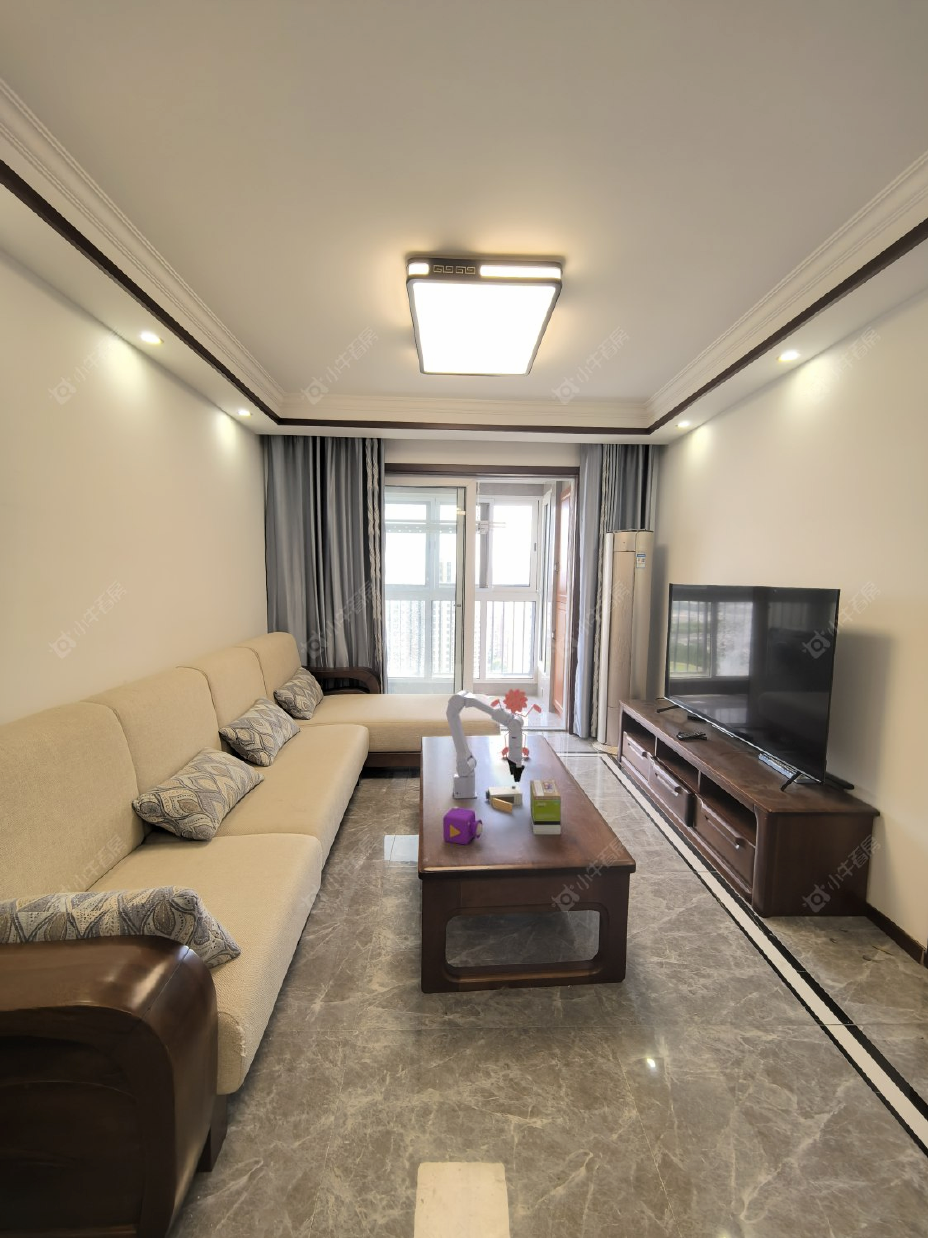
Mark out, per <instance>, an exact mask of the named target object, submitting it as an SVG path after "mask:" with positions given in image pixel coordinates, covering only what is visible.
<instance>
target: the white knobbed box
mask: <svg viewBox="0 0 928 1238" xmlns="http://www.w3.org/2000/svg"><path fill="white" fill-rule="evenodd" d="M491 797H493V798H496V799H499V800H502V801H505V802H508V803H511V804H512V806H514V805H523V792H522V790H521V788H520V786H519V785H507V786H506V785H505V786H503V785H502V786H488V787H487V790H485V800H488V802H489V805H490V806H491Z"/></svg>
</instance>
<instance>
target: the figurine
mask: <svg viewBox="0 0 928 1238" xmlns="http://www.w3.org/2000/svg"><path fill="white" fill-rule="evenodd" d="M525 695H526V692H525V691H523V690H522V691H521V690H520V689H519V688H517V689H515V690H514V689H512V688H509V691H508V693H505V694H504V698H505V699H503V700H502V703H503V704H504V705H505V708H504V709H506V710H510V713H511V714H512V713H513V714H514V715H519V716H520V717H522V718H523V717H524V718H527V716H529V714H530V713H531V711H532V710H533V709H534V710H535V711H536V712H538V713H540V714H541V713H542V708H541V707H540V706H539V705H537V704H536V703H534V704H533V705H532V707H531V708H530V710H529V711H528V712H527V713H526V715H523V714H519V713H522V712H523V708H524V709H526V708H528V704H527V702H528V700H529V698H527V696H525ZM490 705H491V706H492V707H494V708H496V706H497V705H499V707H500V708H501V707H502V704H501V702H500V699H499V698H497V699H495V700H493V701H492V702H491V703H490ZM517 712H518V713H517ZM506 735H509V731H508V732H507V733H505V736H506ZM522 735H524V743H526V739H527V734H525V733H524V732H522ZM506 738H507V737H504V745H505V747H504V748H503V749H502V751H500V752H498V754H500V753H501V755H502V757H504V756H505V760H506V761H507V759H506V758H507V757H508V746H507V740H506ZM523 746H524V747H523ZM523 746H522V755H524V756H525V758H524V759H523V760H524V761H526V756H527V757H529V755H530V749H529V748H528V747H526V744H524V745H523Z"/></svg>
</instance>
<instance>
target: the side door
mask: <svg viewBox="0 0 928 1238" xmlns="http://www.w3.org/2000/svg"><path fill="white" fill-rule="evenodd" d="M490 806H491V807H492V808H494V809H498V810H501V811H504V812H506V813H510V814H512V813H513V805H512V804H511V803H508V802H505V801H502V800H499V799H496V798H493V797H491V805H490Z"/></svg>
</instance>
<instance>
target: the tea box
mask: <svg viewBox="0 0 928 1238" xmlns="http://www.w3.org/2000/svg"><path fill="white" fill-rule="evenodd" d="M529 787H530V788H529V791H530V793H529V794H530V797H529V799H530V800H529V801H530V804H529V805H530V806H529V807H530V819H531V826H532V830H533V835H561V834H562V833H561V832H562V831H561V829H562V828H561V825H562V823H561V822H562V821H561V820H562V819H561V818H562V817H561V816H562V814H561V813H562V812H561V811H562V809H561V808H562V806H561V805H562V804H561V803H562V801H561V798H562V797H561V793H560V791H559V788H558V785H557V782H556V780H555V779H553V780H552V779H548V780H547V779H546V780H545V779H544V780H541V779H538V780H537V779H535V780H532V779H530V780H529Z"/></svg>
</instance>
